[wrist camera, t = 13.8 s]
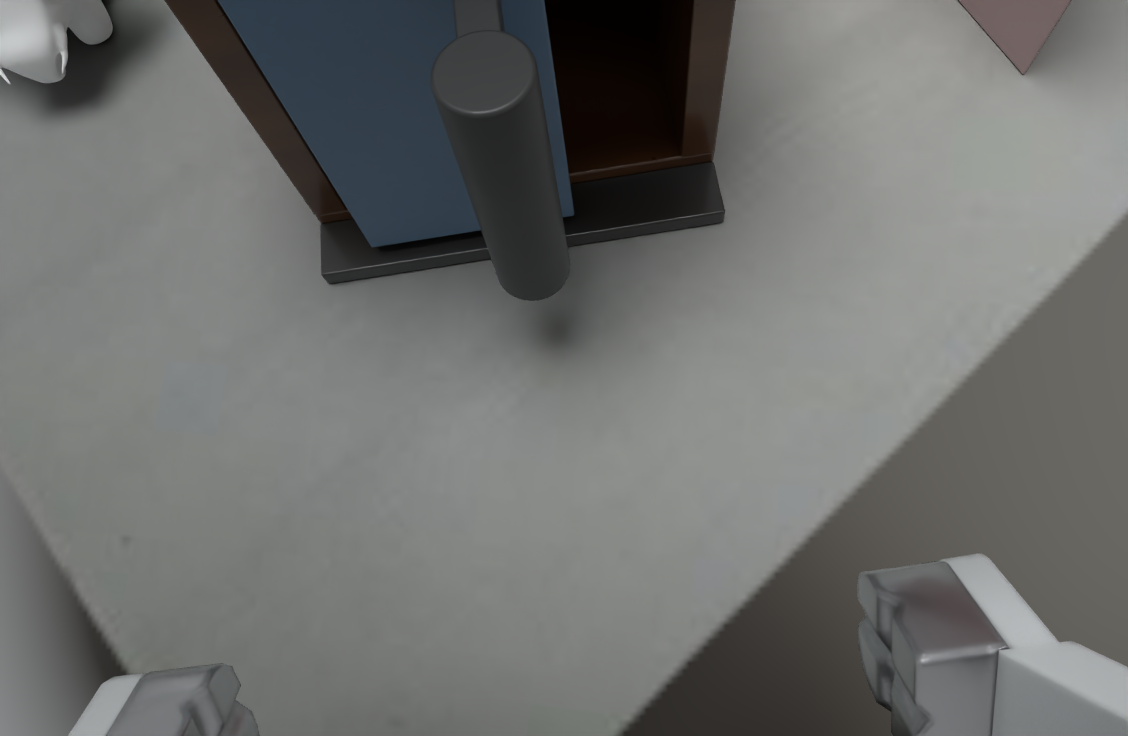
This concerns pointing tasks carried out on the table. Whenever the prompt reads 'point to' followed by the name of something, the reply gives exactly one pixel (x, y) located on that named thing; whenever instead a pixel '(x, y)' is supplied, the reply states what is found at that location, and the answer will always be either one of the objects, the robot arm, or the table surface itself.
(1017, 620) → the robot arm
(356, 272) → the cabinet
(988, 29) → the greeting card
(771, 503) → the table surface
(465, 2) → the cabinet door
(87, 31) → the elephant figurine
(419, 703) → the table surface
